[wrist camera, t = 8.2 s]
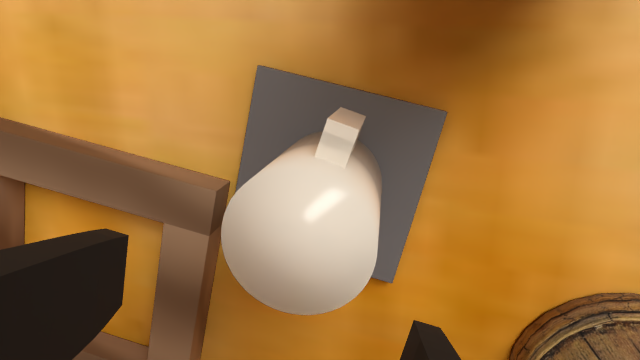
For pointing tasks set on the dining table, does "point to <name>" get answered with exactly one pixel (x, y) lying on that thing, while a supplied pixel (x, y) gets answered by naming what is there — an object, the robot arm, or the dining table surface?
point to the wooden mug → (585, 330)
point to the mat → (376, 134)
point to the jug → (308, 222)
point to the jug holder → (136, 198)
